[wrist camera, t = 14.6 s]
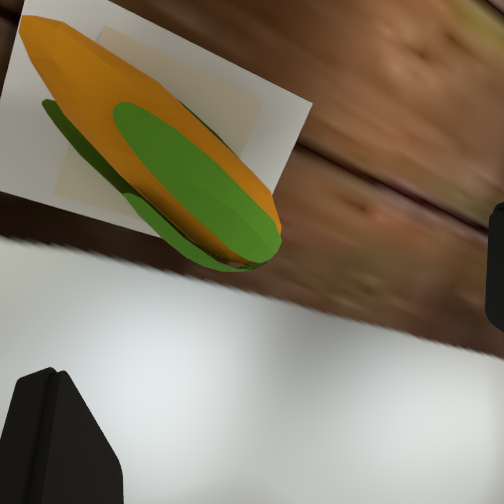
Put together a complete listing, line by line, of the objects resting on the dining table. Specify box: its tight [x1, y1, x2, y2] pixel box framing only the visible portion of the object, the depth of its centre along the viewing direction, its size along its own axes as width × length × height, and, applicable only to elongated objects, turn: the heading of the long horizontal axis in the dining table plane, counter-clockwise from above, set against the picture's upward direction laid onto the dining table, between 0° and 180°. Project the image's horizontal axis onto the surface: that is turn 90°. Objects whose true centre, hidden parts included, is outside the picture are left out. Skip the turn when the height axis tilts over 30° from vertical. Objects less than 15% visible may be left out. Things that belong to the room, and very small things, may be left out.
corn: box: [18, 15, 282, 272], centre depth 26 cm, size 7×8×20 cm
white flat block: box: [0, 0, 313, 238], centre depth 31 cm, size 20×14×4 cm
